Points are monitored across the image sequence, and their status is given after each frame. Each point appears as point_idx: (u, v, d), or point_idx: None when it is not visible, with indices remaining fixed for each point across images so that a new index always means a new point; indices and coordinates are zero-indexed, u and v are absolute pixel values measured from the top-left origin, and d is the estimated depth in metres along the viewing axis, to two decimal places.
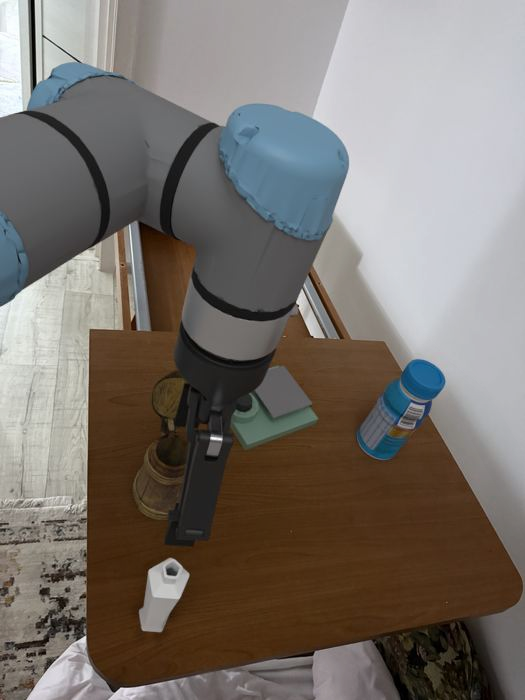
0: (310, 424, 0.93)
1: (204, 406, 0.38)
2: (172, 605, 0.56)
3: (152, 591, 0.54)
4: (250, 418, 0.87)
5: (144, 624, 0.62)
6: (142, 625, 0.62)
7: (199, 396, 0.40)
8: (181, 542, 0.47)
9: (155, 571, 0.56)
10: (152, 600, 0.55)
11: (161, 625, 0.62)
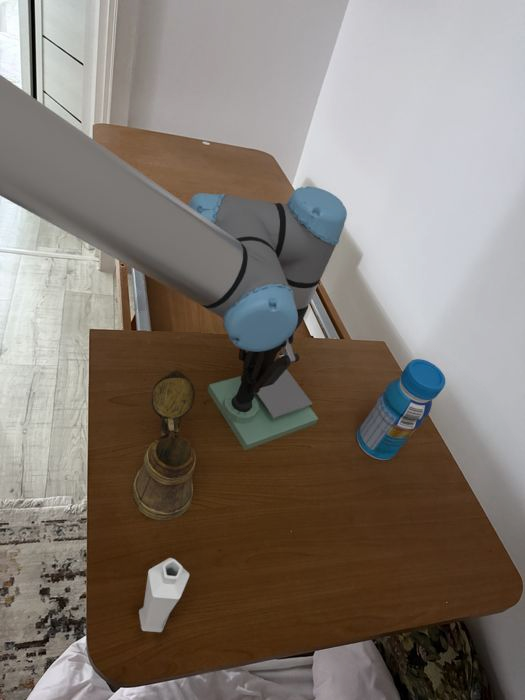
0: (310, 424, 0.93)
1: (283, 342, 0.73)
2: (172, 605, 0.56)
3: (152, 591, 0.54)
4: (250, 418, 0.87)
5: (144, 624, 0.62)
6: (142, 625, 0.62)
7: None
8: (247, 399, 0.87)
9: (155, 571, 0.56)
10: (152, 600, 0.55)
11: (161, 625, 0.62)
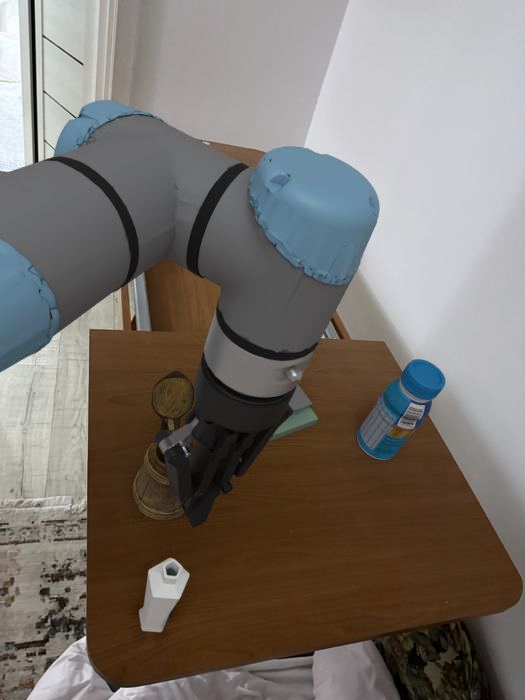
0: (310, 424, 0.93)
1: None
2: (172, 605, 0.56)
3: (152, 591, 0.54)
4: None
5: (144, 624, 0.62)
6: (142, 625, 0.62)
7: None
8: (188, 514, 0.52)
9: (155, 571, 0.56)
10: (152, 600, 0.55)
11: (161, 625, 0.62)
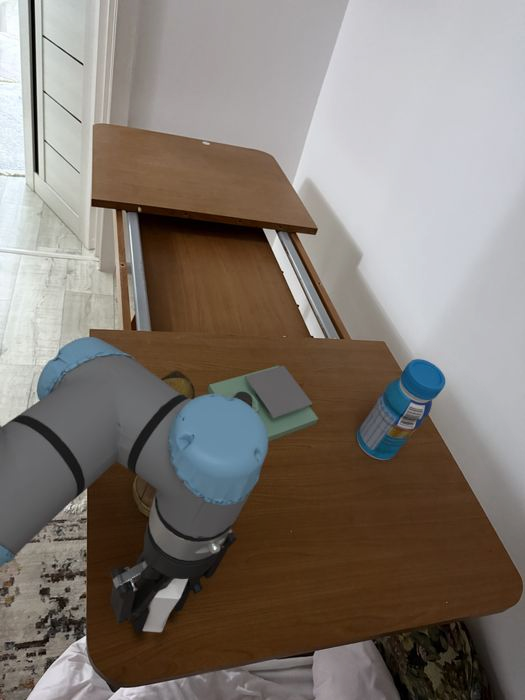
0: (310, 424, 0.93)
1: None
2: (172, 605, 0.56)
3: None
4: None
5: None
6: None
7: None
8: (133, 622, 0.61)
9: None
10: (152, 600, 0.55)
11: (161, 625, 0.62)
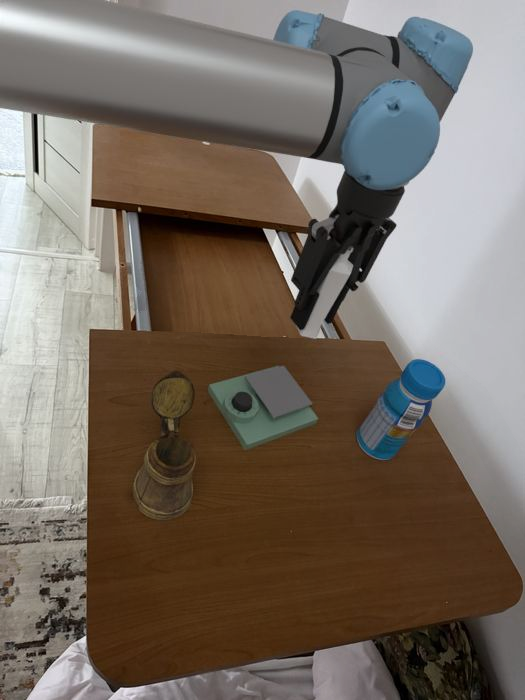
0: (310, 424, 0.93)
1: None
2: (340, 287, 0.68)
3: None
4: (250, 418, 0.87)
5: None
6: (301, 331, 0.74)
7: None
8: (297, 320, 0.73)
9: None
10: (326, 278, 0.67)
11: (317, 330, 0.74)
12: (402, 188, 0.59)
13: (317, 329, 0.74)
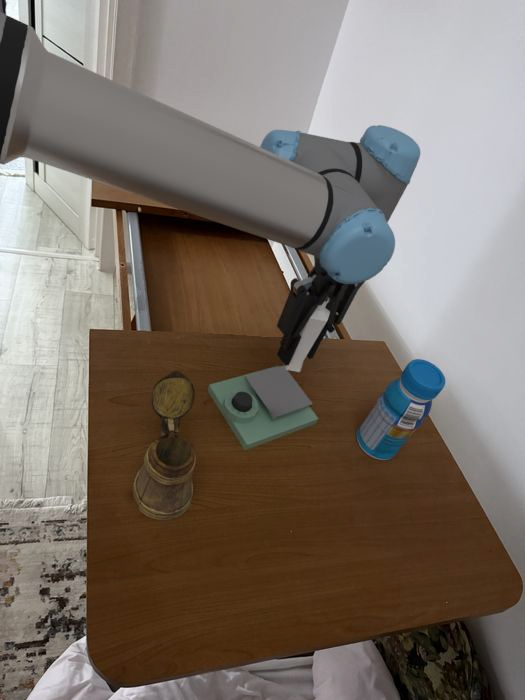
0: (310, 424, 0.93)
1: None
2: (319, 331, 0.80)
3: None
4: (250, 418, 0.87)
5: None
6: None
7: None
8: (282, 357, 0.84)
9: None
10: (307, 324, 0.79)
11: (300, 365, 0.86)
12: None
13: (300, 364, 0.86)
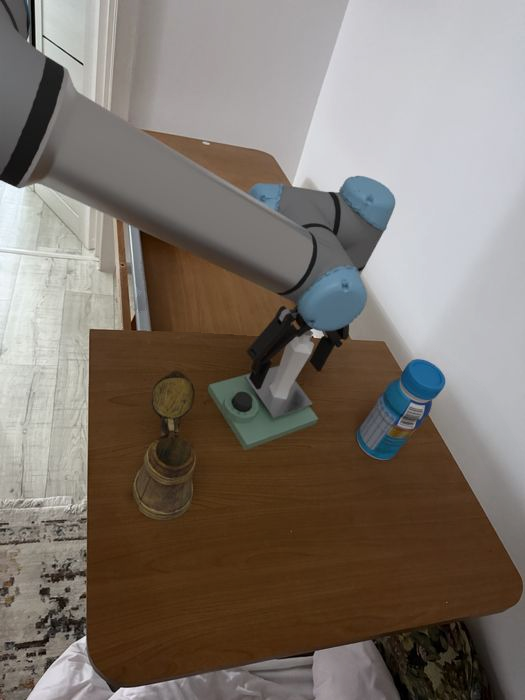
0: (310, 424, 0.93)
1: (296, 304, 0.77)
2: (303, 362, 0.85)
3: (293, 348, 0.83)
4: (250, 418, 0.87)
5: (275, 391, 0.90)
6: (273, 393, 0.91)
7: None
8: (254, 381, 0.85)
9: None
10: (292, 356, 0.83)
11: (287, 392, 0.91)
12: None
13: (286, 392, 0.90)
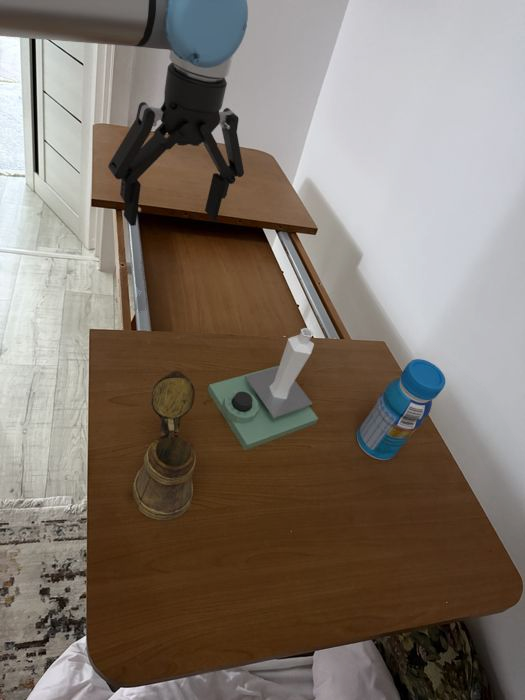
0: (310, 424, 0.93)
1: (163, 105, 0.65)
2: (303, 362, 0.85)
3: (293, 348, 0.83)
4: (250, 418, 0.87)
5: (275, 391, 0.90)
6: (273, 393, 0.91)
7: None
8: (128, 216, 0.73)
9: (293, 338, 0.84)
10: (292, 356, 0.83)
11: (287, 392, 0.91)
12: (222, 83, 0.63)
13: (286, 392, 0.90)
